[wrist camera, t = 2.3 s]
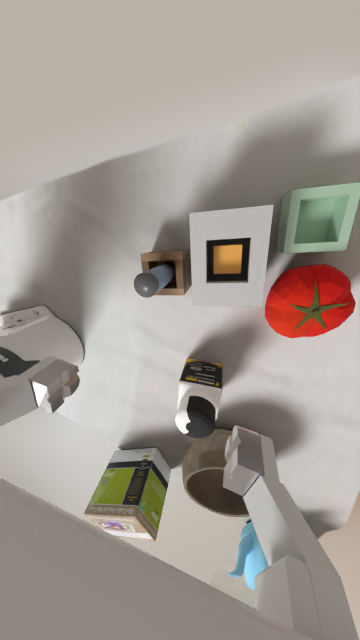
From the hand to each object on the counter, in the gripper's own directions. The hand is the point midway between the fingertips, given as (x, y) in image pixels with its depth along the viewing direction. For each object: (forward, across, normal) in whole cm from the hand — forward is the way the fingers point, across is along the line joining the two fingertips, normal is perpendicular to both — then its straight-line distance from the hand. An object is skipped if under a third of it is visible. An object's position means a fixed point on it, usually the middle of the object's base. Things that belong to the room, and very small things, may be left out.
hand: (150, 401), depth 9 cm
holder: (+24, -7, 0) cm, 25 cm away
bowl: (+24, +13, -37) cm, 46 cm away
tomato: (+25, +12, +1) cm, 28 cm away
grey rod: (+23, -7, 0) cm, 24 cm away
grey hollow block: (+25, +1, +4) cm, 25 cm away
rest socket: (+25, +10, +10) cm, 29 cm away
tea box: (+23, -6, -55) cm, 60 cm away
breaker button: (+20, +1, +5) cm, 21 cm away
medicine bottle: (+24, +3, -19) cm, 31 cm away
